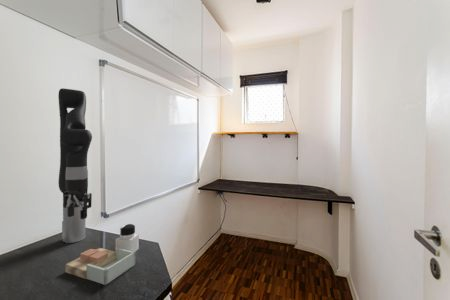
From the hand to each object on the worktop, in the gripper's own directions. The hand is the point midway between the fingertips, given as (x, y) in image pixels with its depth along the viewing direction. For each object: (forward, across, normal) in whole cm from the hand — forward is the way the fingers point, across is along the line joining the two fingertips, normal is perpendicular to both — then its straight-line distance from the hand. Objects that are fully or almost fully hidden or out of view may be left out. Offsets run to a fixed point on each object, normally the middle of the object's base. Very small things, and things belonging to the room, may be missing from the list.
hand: (77, 217), depth 86 cm
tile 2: (+15, +12, 0) cm, 19 cm away
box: (+18, +19, 0) cm, 26 cm away
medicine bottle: (+18, +14, +13) cm, 26 cm away
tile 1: (+15, +7, 0) cm, 17 cm away
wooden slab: (+18, +9, 0) cm, 20 cm away
